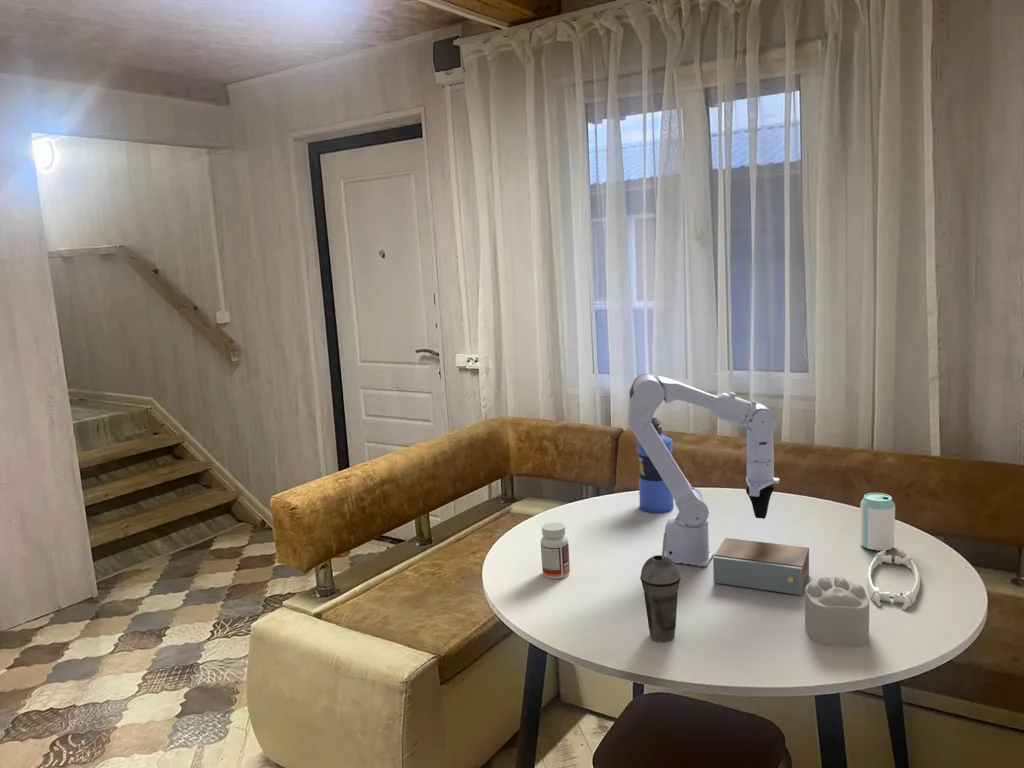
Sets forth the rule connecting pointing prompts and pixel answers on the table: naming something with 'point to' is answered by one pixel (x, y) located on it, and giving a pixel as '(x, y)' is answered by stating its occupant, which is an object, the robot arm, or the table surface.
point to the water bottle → (653, 479)
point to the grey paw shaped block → (836, 612)
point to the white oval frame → (885, 596)
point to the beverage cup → (661, 595)
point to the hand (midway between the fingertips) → (760, 517)
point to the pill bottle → (555, 551)
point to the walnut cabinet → (766, 554)
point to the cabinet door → (758, 575)
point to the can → (877, 521)
